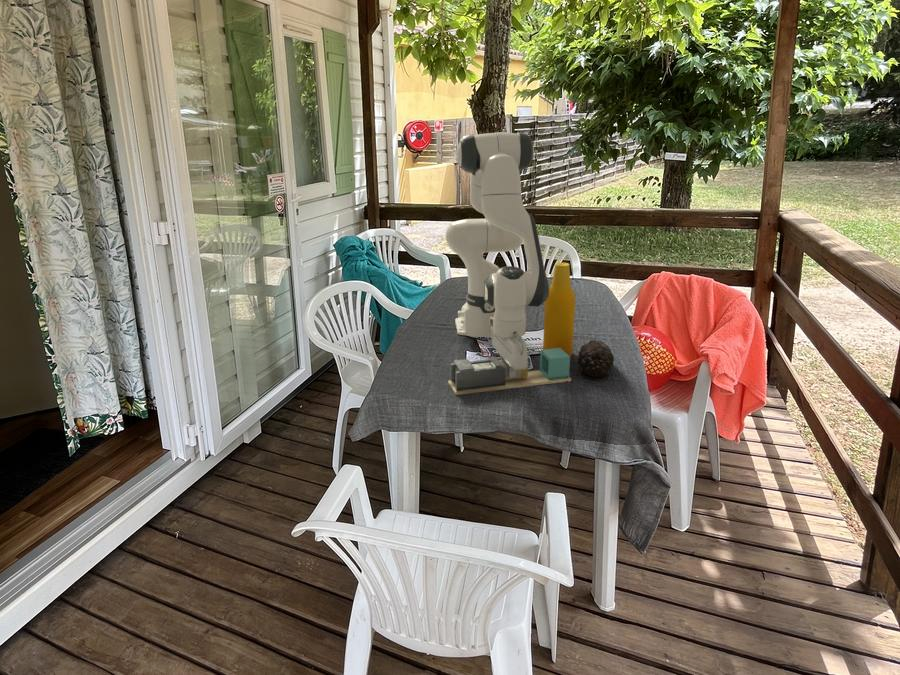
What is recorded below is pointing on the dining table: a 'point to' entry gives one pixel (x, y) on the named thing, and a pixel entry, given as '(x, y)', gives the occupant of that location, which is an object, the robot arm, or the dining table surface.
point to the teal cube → (554, 363)
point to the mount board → (515, 383)
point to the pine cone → (595, 360)
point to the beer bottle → (560, 311)
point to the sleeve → (477, 374)
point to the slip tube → (504, 363)
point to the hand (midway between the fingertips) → (508, 372)
